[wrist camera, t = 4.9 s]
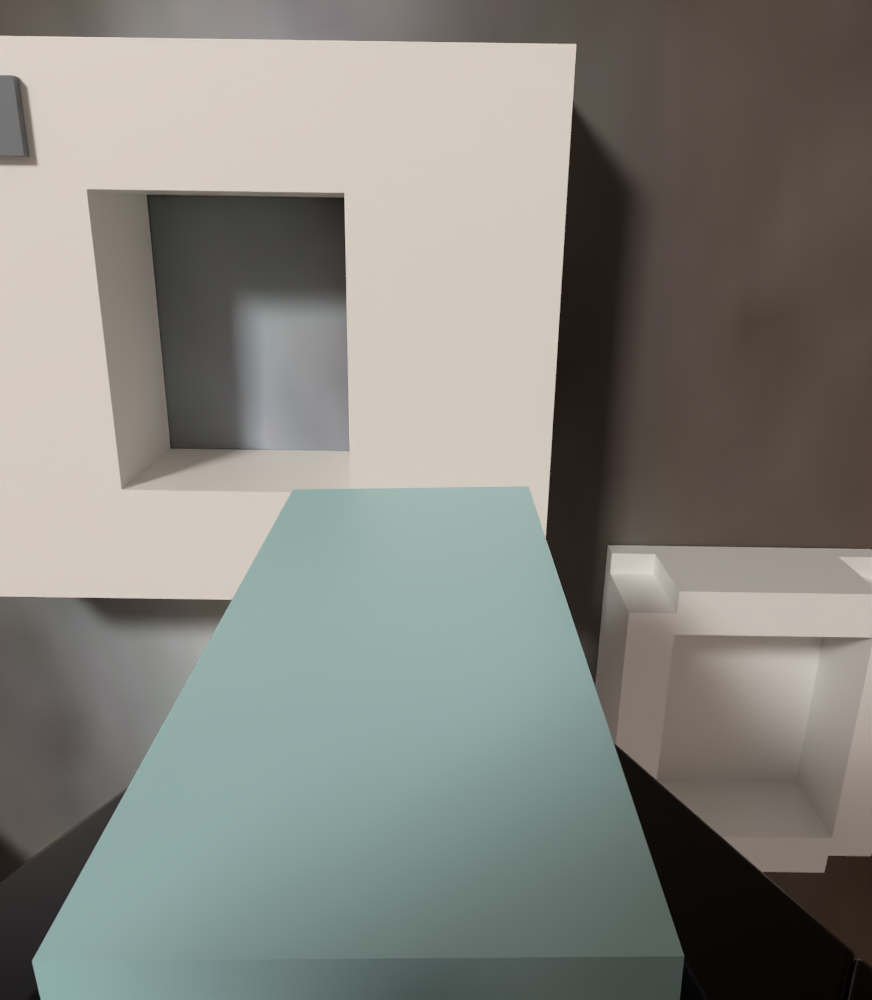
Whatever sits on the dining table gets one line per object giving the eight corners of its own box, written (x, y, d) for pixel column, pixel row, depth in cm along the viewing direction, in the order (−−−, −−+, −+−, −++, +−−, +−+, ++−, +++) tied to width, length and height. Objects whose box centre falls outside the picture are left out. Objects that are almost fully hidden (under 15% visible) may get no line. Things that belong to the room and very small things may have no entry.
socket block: (552, 75, 16) (578, 41, 13) (526, 547, 19) (543, 609, 16) (-59, 67, 16) (-176, 30, 13) (18, 540, 19) (-61, 599, 16)
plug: (528, 485, 10) (836, 1410, 2) (522, 753, 12) (705, 1938, 4) (293, 489, 10) (-218, 1412, 2) (313, 754, 12) (30, 1937, 4)
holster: (871, 549, 19) (931, 595, 17) (820, 801, 22) (867, 873, 19) (607, 545, 19) (631, 590, 17) (585, 798, 22) (603, 869, 19)
